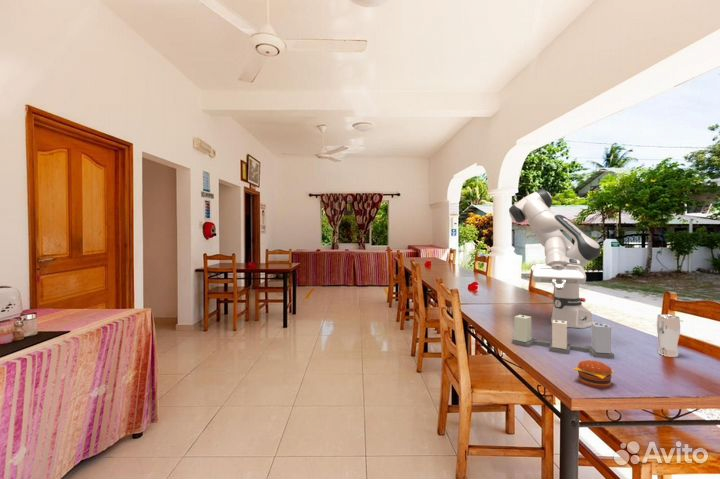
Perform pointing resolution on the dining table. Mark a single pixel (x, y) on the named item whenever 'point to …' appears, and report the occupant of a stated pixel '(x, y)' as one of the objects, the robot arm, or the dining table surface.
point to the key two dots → (559, 334)
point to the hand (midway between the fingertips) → (559, 289)
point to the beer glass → (668, 334)
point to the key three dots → (601, 338)
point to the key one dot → (522, 328)
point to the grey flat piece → (560, 350)
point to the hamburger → (594, 374)
